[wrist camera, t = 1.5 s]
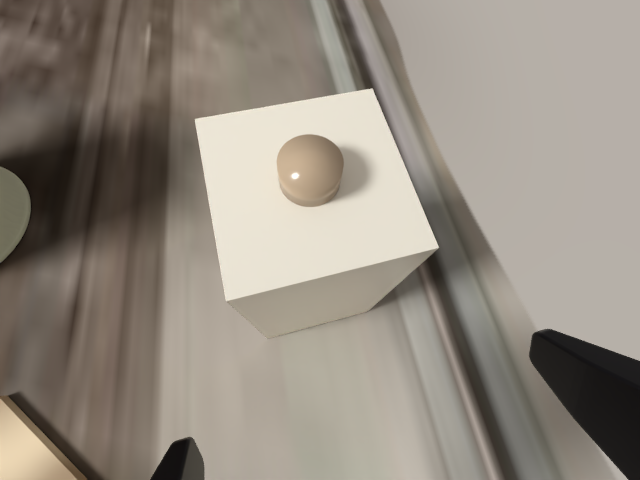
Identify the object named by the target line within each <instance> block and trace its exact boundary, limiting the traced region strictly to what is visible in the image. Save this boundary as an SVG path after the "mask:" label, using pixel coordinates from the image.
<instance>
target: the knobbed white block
mask: <svg viewBox="0 0 640 480" xmlns="http://www.w3.org/2000/svg"><path fill="white" fill-rule="evenodd" d="M195 123H196V129H197V135H198V141H199V147H200V153H201V158H202V164H203V170H204V176H205V182H206V188H207V193H208V199H209V205H210V211H211V217H212V222H213V228H214V234H215V240H216V246H217V252H218V257H219V263H220V269H221V275H222V281H223V287H224V292H225V298H226V302H227V303H229V304H230V305H231V306H232V307H233V308H234V309H235V310H236V311H237V312H238V313H240V314H241V315H242V316H243V317H244V318H245V319H246V320H247V321H248V322H249V323H251V324H252V325H253V326H254V327H255V328H256V329H257V330H258V331H259V332H260V333H261V334H263V335H264V336H265V337H266V338H267V339H269V338H272V337H276V336H280V335H283V334H287V333H291V332H295V331H298V330H302V329H306V328H309V327H313V326H317V325H320V324H324V323H328V322H331V321H335V320H339V319H342V318H346V317H350V316H353V315H357V314H361V313H365V312H368V311H369V310H370V309H371V308H372V307H373V306H374V305H375V304H377V303H378V302H379V301H380V300H381V299H382V298H383V297H384V296H386V295H387V294H388V293H389V292H390V291H391V290H392V289H393V288H395V287H396V286H397V285H398V284H399V283H400V282H401V281H402V280H404V279H405V278H406V277H407V276H408V275H409V274H410V273H411V272H412V271H414V270H415V269H416V268H417V267H418V266H419V265H420V264H421V263H423V262H424V261H425V260H426V259H427V258H428V257H429V256H430V255H432V254H433V253H434V252H435V251H436V250H437V249H438V248H439V246H438V244H437V242H436V239H435V237H434V234H433V232H432V230H431V227H430V225H429V223H428V220H427V218H426V215H425V213H424V211H423V208H422V206H421V203H420V201H419V199H418V196H417V194H416V192H415V189H414V187H413V184H412V182H411V180H410V177H409V175H408V172H407V170H406V168H405V165H404V163H403V161H402V158H401V156H400V153H399V151H398V149H397V146H396V144H395V141H394V139H393V137H392V134H391V132H390V130H389V127H388V125H387V122H386V120H385V118H384V115H383V113H382V110H381V108H380V106H379V103H378V101H377V99H376V96H375V94H374V91H373V89H367V90H361V91H355V92H349V93H344V94H338V95H332V96H326V97H320V98H314V99H309V100H303V101H297V102H291V103H285V104H280V105H274V106H268V107H262V108H256V109H251V110H245V111H239V112H233V113H227V114H221V115H216V116H210V117H204V118H198V119H195Z"/></svg>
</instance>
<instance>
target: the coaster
mask: <svg viewBox="0 0 640 480" xmlns="http://www.w3.org/2000/svg"><path fill="white" fill-rule="evenodd" d="M0 480H88V479H87V478H86V477H85V476H84V475H83V474H82V473H81V472H80V471H79V470H78V469H77V468H76V467H75V466H74V465H73V464H72V463H71V462H70V460H69V459H68V458H67V457H66V456H65V455H64V454H63V453H62V452H61V451H60V450H59V449H58V448H57V447H56V446H55V445H54V444H53V443H52V442H51V441H50V440H49V439H48V438H47V436H46V435H45V434H44V433H43V432H42V431H41V430H40V429H39V428H38V427H37V426H36V425H35V424H34V423H33V422H32V421H31V420H30V419H29V418H28V417H27V416H26V415H25V414H24V413H23V411H22V410H21V409H20V408H19V407H18V406H17V405H16V404H15V403H14V402H13V401H12V400H11V399H10V398H9V397H8V396H0Z"/></svg>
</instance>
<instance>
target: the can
mask: <svg viewBox="0 0 640 480" xmlns="http://www.w3.org/2000/svg"><path fill="white" fill-rule="evenodd" d="M30 213H31V201H30V196H29V193H28V190H27V188H26V187H25V185H24V184H23V182H22V181H21V180H20V179H19V178H18V177H17V176H16V175H15V174H14V173H12V172H10V171H9V170H7V169H5V168H3V167H0V263H1V262H2V261H3V260H4V259H5V258H6V257H7V256H8V255H9V254H10V253H11V252H12V251H13V250H14V248H15V247H16V246H17V244H18V243H19V241H20V240H21V238H22V236H23V234H24V233H25V231H26V228H27V226H28V223H29V219H30Z"/></svg>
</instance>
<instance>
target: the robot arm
mask: <svg viewBox="0 0 640 480" xmlns="http://www.w3.org/2000/svg"><path fill="white" fill-rule="evenodd" d="M529 357H530V360H531V362H532V364H533V366H534V367H535V368H536V370H537V371H538V372H539V373H540V375H541V376H542V377H543V379H544V380H545V381H546V383H547V384H548V385H549V387H550V388H551V389H552V391H553V392H554V393H555V395H556V396H557V397H558V399H559V400H560V401H561V403H562V404H563V405H564V407H565V408H566V409H567V410H568V412H569V413H570V414H571V415H572V417H573V418H574V419H575V420H576V421H577V423H578V424H579V425H580V426H581V427H582V428H583V429H584V430H585V432H586V433H587V434H588V435H589V436H590V437H591V438H592V439H593V441H594V442H595V443H596V444H597V445H598V446H599V447H600V448H601V449H602V451H603V452H604V453H605V454H606V455H607V456H608V457H609V458H610V460H611V461H613V463H614V464H615V465H616V466H617V467H618V468H619V470H620V471H621V472H622V473H623V474H624V475H625V476H626V477H627V479H628V480H640V361H638V360H635V359H632V358H630V357H627V356H624V355H621V354H618V353H616V352H613V351H610V350H607V349H605V348H602V347H599V346H596V345H594V344H591V343H588V342H585V341H582V340H579V339H577V338H574V337H571V336H568V335H565V334H563V333H560V332H557V331H554V330H552V329H544V330H541V331H538V332H535V333H534V334H533V335H532V340H531V346H530V353H529ZM150 480H204V462H203V458H202V456H201V454H200V452H199V449H198V447H197V445H196V443H195V441H194V439H193V438H192V437H187V438H184V439H180V440H177V441H175V442H173V443H172V444H171V446H170V447H169V449H168V451H167V452H166V454H165V456H164V457H163V459H162V461H161V462H160V464H159V466H158V467H157V469H156V471H155V472H154V474H153V476H152V477H151V479H150Z"/></svg>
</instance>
